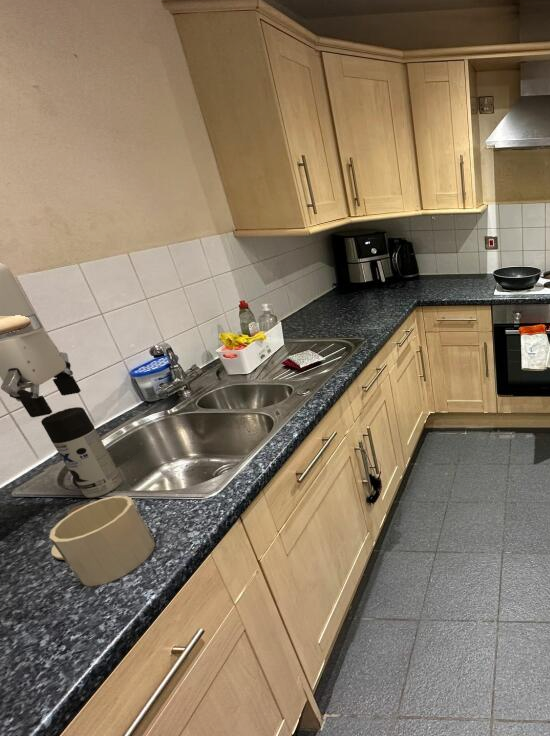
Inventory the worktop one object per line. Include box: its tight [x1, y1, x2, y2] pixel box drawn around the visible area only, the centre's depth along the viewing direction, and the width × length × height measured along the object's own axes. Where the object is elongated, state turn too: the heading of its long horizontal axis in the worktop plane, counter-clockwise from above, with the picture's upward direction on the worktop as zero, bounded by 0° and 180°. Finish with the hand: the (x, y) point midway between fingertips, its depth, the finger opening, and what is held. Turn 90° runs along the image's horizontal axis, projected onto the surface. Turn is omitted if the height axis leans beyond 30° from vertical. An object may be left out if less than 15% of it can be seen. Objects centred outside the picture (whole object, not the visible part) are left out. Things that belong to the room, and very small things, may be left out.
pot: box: [49, 495, 156, 587], centre depth 72 cm, size 10×10×10 cm
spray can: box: [40, 406, 123, 499], centre depth 90 cm, size 7×7×20 cm
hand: (57, 403), depth 85 cm, fingers open, 9 cm apart
